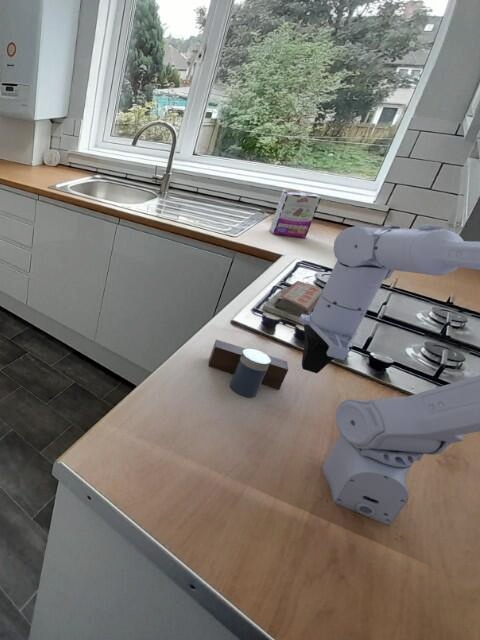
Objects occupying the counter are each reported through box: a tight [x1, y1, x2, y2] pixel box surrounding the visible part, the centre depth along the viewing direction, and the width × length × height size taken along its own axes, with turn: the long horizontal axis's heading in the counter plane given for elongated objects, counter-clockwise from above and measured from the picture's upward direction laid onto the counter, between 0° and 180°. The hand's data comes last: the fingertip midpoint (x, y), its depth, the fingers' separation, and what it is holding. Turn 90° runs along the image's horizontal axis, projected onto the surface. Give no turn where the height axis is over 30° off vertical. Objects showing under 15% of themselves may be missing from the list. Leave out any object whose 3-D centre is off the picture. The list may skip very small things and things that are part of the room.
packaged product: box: [262, 280, 323, 326], centre depth 107 cm, size 18×5×10 cm
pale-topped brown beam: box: [207, 339, 289, 391], centre depth 81 cm, size 3×12×6 cm, turn 58°
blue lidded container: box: [228, 348, 271, 399], centre depth 76 cm, size 8×4×10 cm, turn 149°
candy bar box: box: [269, 190, 322, 239], centre depth 157 cm, size 11×5×16 cm, turn 73°
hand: (309, 369), depth 69 cm, fingers closed
